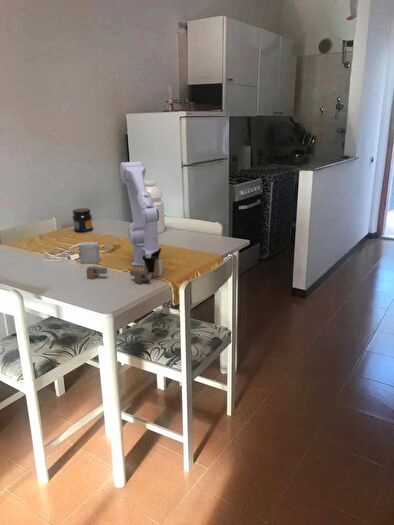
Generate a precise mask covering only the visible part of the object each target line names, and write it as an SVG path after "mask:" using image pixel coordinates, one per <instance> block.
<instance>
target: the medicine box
mask: <svg viewBox="0 0 394 525" xmlns="http://www.w3.org/2000/svg"><path fill="white" fill-rule="evenodd" d="M78 251H79V260H80V264H98V263H100V261H101V257H100V248H99V242H98V241H96V242H95V241H90V242H89V241H88V242H86V241H85V242H81V243H80V244H79V245H78Z"/></svg>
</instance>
